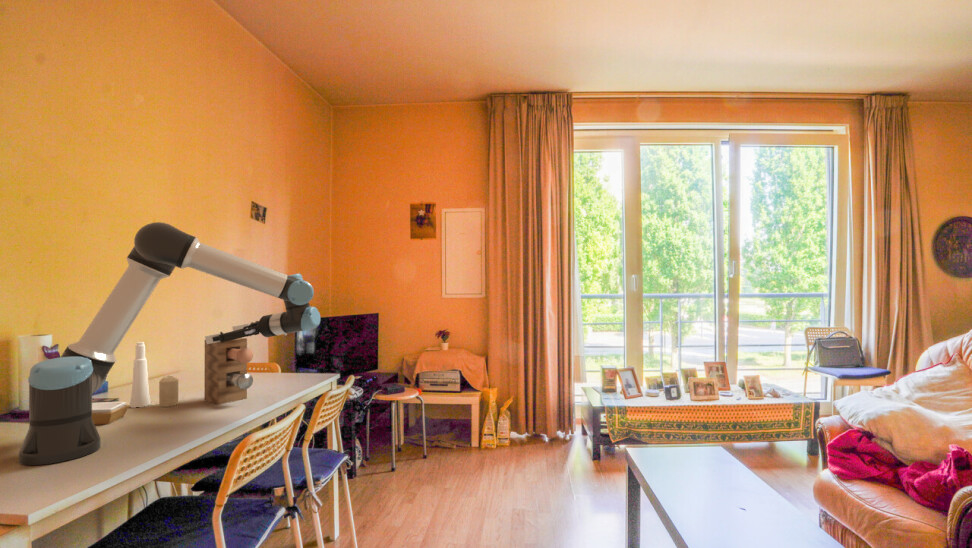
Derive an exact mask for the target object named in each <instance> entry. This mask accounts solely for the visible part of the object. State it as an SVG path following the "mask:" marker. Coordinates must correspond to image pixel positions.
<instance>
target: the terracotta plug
mask: <svg viewBox="0 0 972 548" xmlns="http://www.w3.org/2000/svg"><path fill="white" fill-rule="evenodd" d="M226 358H228V359H234V360H238V361H239V362H240V363H247V364H248V363H250V362H251V361H252V359H253V358H254V352H253V350H252V349H251V348H248V347H247V348H243V349H234V348H227V349H226Z"/></svg>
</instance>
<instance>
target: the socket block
mask: <svg viewBox="0 0 972 548" xmlns="http://www.w3.org/2000/svg"><path fill="white" fill-rule="evenodd" d="M227 348H234V349H243V348H248V337H247V338H246V337H242V338H238V339H234V340H230V341H226V342H223V343H220V342H217V343H211V344H207V343H206V339H204V396H203V397H204V400H205V401H204V402H208V401H209V403H212V402H213V404H215V403H216V404H217V405H222V403H223V404H228V403H231V401H232V402H236V401H240V400H246V399H248V389H241V388H239V387H238V386H237V385H232V384H228V383H226V374H227V373H234V374H239V375H242V374H248V363H240V362H239V361H238V360H234V359H228V358H226V349H227ZM227 402H228V403H227Z"/></svg>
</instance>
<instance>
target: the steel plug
mask: <svg viewBox="0 0 972 548" xmlns="http://www.w3.org/2000/svg"><path fill="white" fill-rule="evenodd" d="M226 383H228V384H232V385H237V386H238V387H239V388H241V389H247V390H248V389H250V388H251V387H252V386H253V383H254V377H253V376H252V374H248V373H247V374H242V375H239V374H234V373H227V374H226Z"/></svg>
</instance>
